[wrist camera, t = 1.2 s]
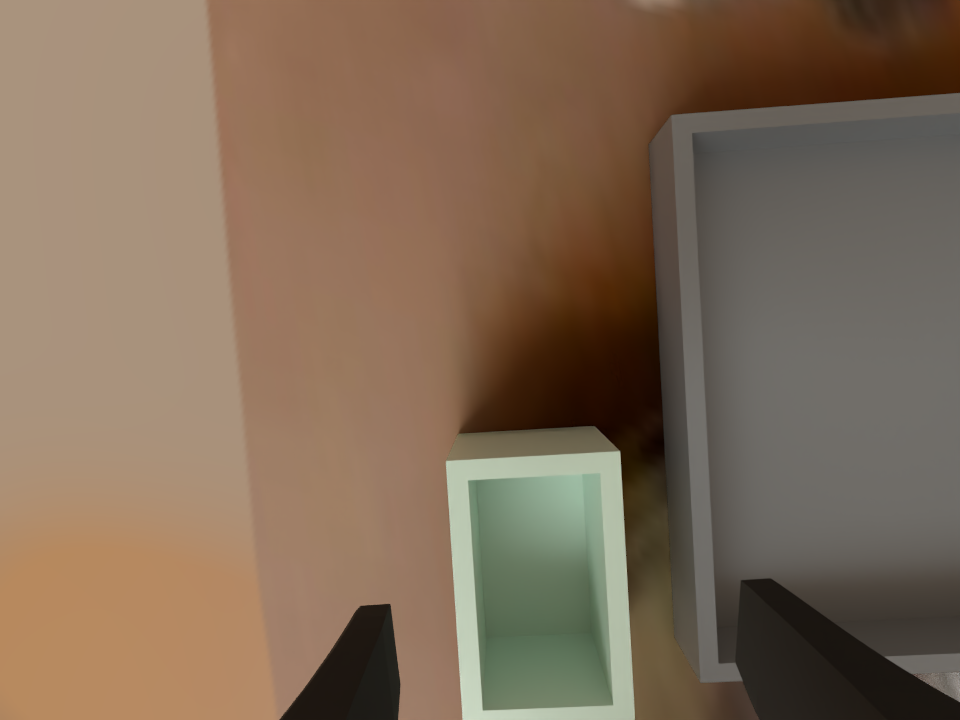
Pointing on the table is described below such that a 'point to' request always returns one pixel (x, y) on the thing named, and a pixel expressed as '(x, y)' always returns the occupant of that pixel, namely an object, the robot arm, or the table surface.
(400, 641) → the table surface
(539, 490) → the mint crate
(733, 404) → the grey tray
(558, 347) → the table surface
